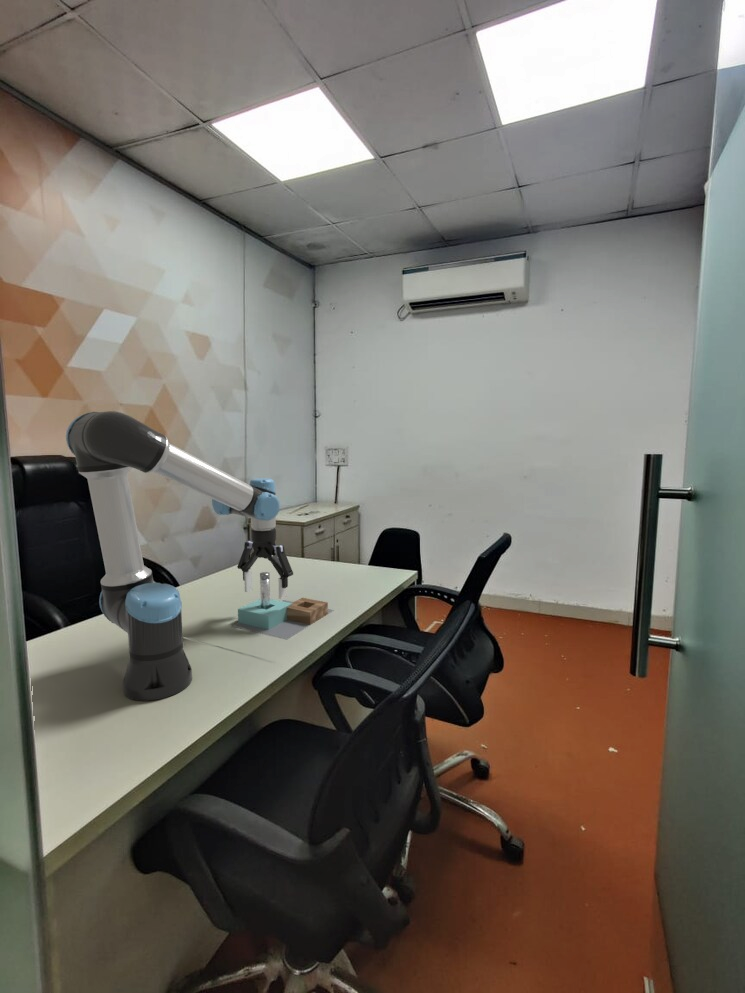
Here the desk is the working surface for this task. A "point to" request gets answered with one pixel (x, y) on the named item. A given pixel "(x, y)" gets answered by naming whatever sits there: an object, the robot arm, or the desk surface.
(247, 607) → the socket
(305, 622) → the block
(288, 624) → the mat
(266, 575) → the pin
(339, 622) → the desk surface
